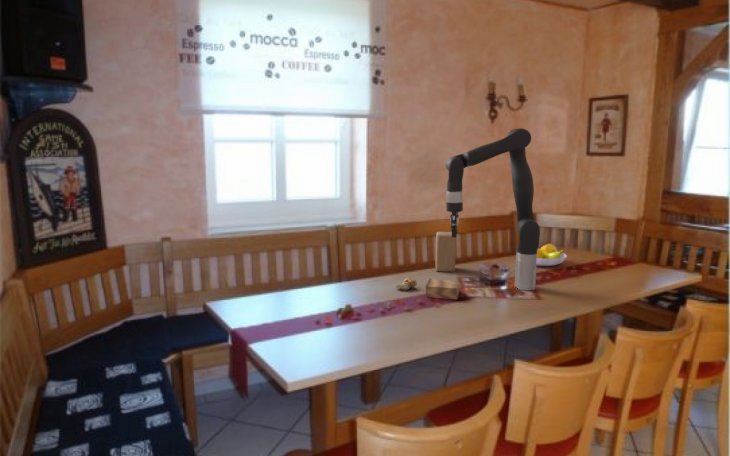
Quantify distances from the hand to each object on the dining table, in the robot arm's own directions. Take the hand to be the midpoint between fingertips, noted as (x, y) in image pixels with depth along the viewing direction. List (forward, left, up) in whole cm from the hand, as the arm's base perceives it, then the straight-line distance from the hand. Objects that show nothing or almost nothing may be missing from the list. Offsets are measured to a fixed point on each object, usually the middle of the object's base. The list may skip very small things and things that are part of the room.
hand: (454, 235), depth 244 cm
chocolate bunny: (+18, +3, -23) cm, 30 cm away
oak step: (+4, +11, -26) cm, 28 cm away
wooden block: (+7, -33, -26) cm, 43 cm away
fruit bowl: (-45, -60, -26) cm, 80 cm away
